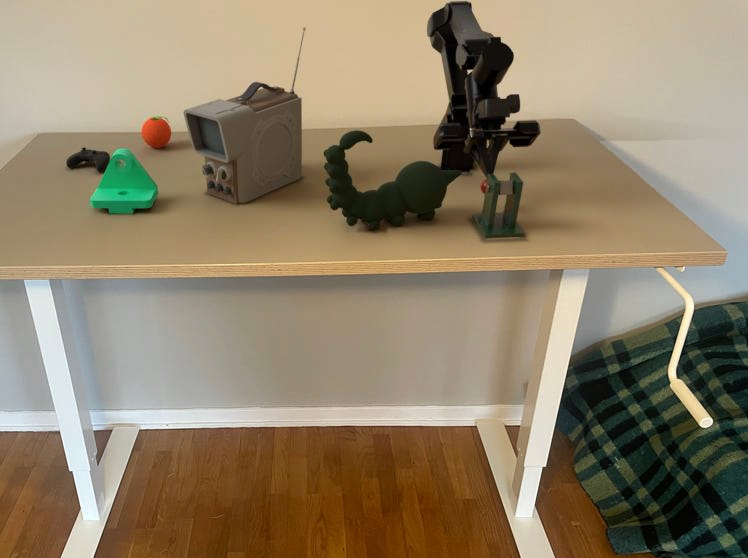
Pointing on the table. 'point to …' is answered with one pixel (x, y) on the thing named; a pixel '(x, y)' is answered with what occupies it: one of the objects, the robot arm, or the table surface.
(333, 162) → the toy figurine
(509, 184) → the lever
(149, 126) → the clementine
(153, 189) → the camera mount
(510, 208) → the bracket
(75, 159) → the gaming controller
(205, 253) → the table surface
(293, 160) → the portable television
